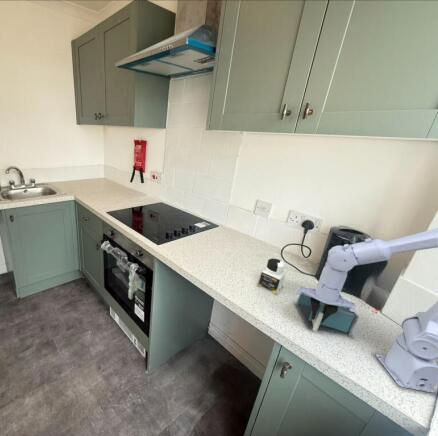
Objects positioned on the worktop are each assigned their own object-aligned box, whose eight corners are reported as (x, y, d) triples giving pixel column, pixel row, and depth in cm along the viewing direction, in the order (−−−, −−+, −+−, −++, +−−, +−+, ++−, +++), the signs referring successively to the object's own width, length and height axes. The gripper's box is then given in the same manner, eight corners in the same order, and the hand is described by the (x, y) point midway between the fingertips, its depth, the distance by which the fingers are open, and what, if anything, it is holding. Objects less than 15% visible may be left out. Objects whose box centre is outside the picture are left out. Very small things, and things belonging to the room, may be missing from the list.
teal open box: (350, 336, 78) (359, 316, 75) (309, 329, 80) (316, 310, 77) (331, 310, 89) (339, 292, 86) (296, 305, 91) (302, 287, 88)
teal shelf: (350, 343, 74) (359, 325, 72) (310, 330, 79) (317, 312, 76) (346, 331, 79) (354, 313, 76) (308, 319, 83) (315, 302, 80)
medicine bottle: (257, 285, 101) (264, 260, 97) (264, 278, 106) (271, 254, 101) (275, 294, 97) (283, 268, 92) (281, 286, 101) (289, 261, 97)
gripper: (358, 285, 73) (343, 320, 78) (302, 270, 80) (291, 303, 85) (363, 298, 67) (346, 335, 72) (302, 280, 74) (290, 315, 79)
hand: (316, 319), depth 78 cm, fingers closed
